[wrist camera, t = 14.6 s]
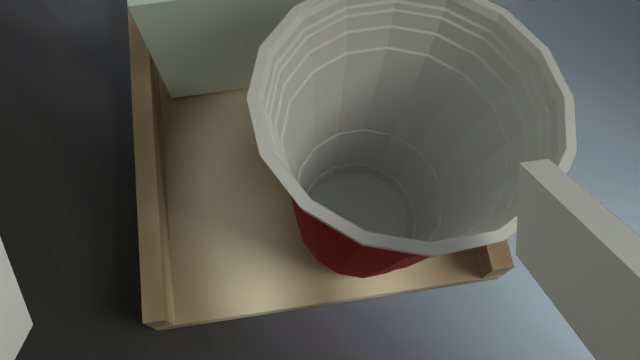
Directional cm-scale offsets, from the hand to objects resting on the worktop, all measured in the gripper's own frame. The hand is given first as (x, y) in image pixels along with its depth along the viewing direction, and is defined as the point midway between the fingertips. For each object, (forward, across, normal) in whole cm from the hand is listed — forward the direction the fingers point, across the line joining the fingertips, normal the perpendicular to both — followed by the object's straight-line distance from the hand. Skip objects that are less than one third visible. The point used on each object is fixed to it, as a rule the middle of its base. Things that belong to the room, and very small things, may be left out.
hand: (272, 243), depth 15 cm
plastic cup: (+13, +4, -7) cm, 15 cm away
